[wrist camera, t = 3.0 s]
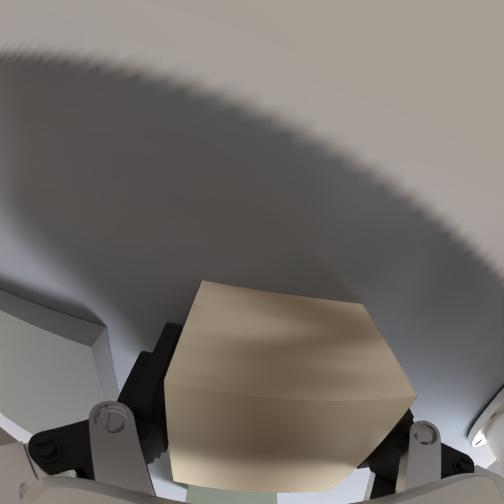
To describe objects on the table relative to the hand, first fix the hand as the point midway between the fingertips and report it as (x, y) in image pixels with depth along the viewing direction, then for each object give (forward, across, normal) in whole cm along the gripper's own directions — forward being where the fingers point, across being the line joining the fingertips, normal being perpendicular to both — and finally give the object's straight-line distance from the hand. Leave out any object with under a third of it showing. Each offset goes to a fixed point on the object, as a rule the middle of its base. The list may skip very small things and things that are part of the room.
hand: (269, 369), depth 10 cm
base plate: (+1, +14, +7) cm, 16 cm away
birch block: (+1, 0, 0) cm, 1 cm away
